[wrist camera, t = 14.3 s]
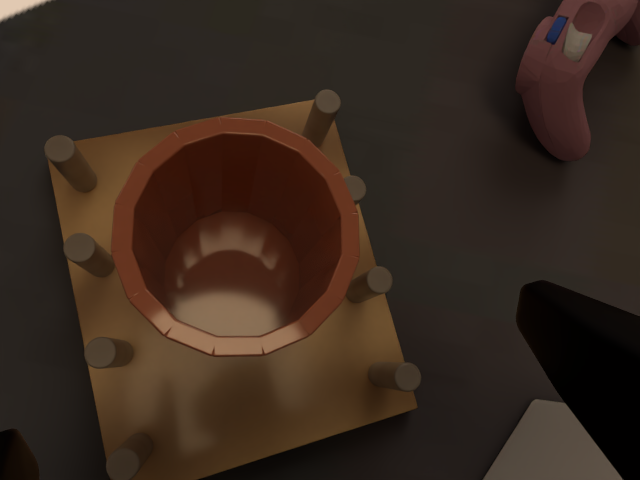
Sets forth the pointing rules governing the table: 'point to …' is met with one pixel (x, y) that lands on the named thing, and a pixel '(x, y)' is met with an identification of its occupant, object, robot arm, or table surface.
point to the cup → (235, 237)
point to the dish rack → (207, 371)
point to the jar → (550, 448)
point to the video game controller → (570, 68)
